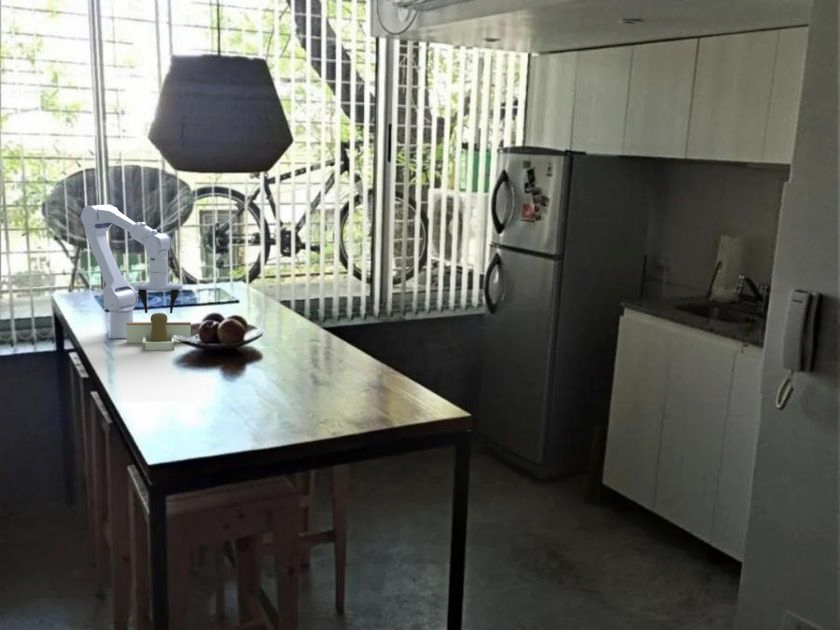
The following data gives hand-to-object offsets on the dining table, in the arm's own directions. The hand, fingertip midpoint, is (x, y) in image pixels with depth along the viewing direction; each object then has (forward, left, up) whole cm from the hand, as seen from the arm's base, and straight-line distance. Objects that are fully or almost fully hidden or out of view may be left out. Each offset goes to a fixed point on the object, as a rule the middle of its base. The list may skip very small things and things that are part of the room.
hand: (158, 312), depth 266 cm
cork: (+4, 0, -11) cm, 11 cm away
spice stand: (+3, 0, -10) cm, 11 cm away
